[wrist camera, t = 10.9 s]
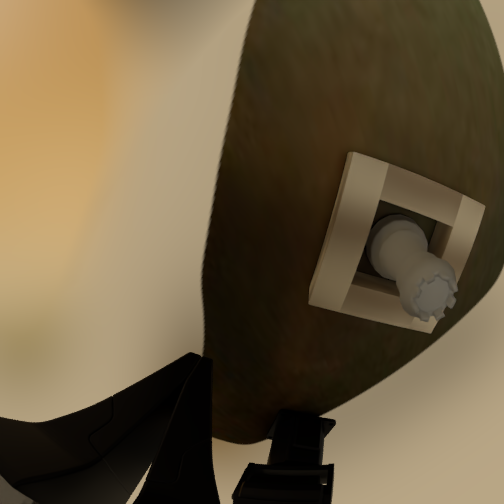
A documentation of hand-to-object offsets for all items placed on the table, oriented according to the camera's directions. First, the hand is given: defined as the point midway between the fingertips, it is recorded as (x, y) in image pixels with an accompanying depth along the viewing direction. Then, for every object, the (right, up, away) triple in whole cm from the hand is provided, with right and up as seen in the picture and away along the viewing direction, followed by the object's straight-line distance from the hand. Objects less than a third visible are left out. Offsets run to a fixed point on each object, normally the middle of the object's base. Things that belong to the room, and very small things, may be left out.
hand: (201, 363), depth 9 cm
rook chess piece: (+12, +4, +9) cm, 15 cm away
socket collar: (+12, +4, +9) cm, 15 cm away
